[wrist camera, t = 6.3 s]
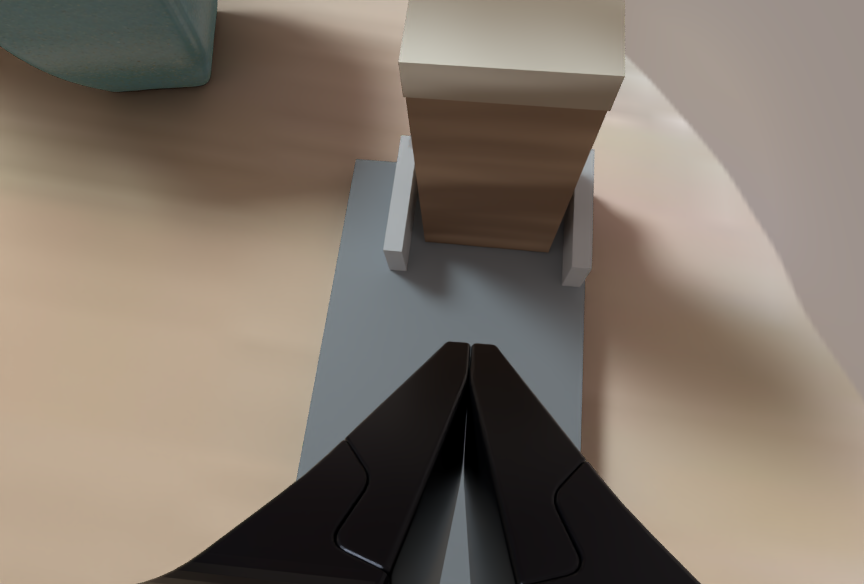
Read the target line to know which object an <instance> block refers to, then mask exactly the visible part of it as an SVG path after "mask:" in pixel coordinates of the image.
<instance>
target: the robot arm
mask: <svg viewBox="0 0 864 584" xmlns="http://www.w3.org/2000/svg"><path fill="white" fill-rule="evenodd" d="M470 352H471V355H470ZM466 414H467V415H466ZM465 429H466V431H465ZM464 444H465V448H464ZM463 459H464V469H463ZM462 469H463V474H464V494H465V509H466V524H467V539H468V554H469V569H470V584H701V583H700V582H699V581H698V580H697V579H696V578H695V577H694V576H693V575H692V574H691V573H690V572H689V571H688V570H687V569H686V568H685V567H684V566H683V565H682V564H681V563H680V562H679V561H678V560H677V559H676V558H675V557H674V556H673V555H672V554H671V553H670V552H669V551H668V550H667V549H666V548H665V547H664V546H663V545H662V544H661V543H660V542H659V541H658V540H657V539H656V538H655V537H654V536H653V535H652V534H651V533H650V532H649V531H648V530H647V529H646V528H645V527H644V526H643V525H642V523H641V522H640V521H639V520H638V519H637V518H636V517H635V516H634V515H633V514H632V513H631V512H630V511H629V510H628V509H627V508H626V507H625V505H624V504H623V503H622V502H621V501H620V500H619V499H618V497H617V496H616V495H615V494H614V493H613V491H612V490H611V489H610V488H609V487H608V486H607V484H606V483H605V482H604V481H603V480H602V478H601V477H600V476H599V475H598V473H597V472H596V471H595V470H594V468H593V467H592V466H591V465H590V463H589V462H586V459H585V457H584V456H583V455H582V454H581V452H580V451H579V450H578V448H577V447H576V446H575V445H574V443H573V442H572V441H571V440H570V438H569V437H568V436H567V435H566V433H565V432H564V431H563V430H562V428H561V427H560V426H559V424H558V423H557V422H556V421H555V419H554V418H553V417H552V416H551V414H550V413H549V412H548V411H547V409H546V408H545V407H544V406H543V404H542V403H541V402H540V401H539V399H538V398H537V397H536V395H535V394H534V393H533V392H532V390H531V389H530V388H529V387H528V385H527V384H526V383H525V382H524V380H523V379H522V378H521V377H520V375H519V374H518V373H517V371H516V370H515V369H514V368H513V366H512V365H511V364H510V363H509V361H508V360H507V359H506V358H505V356H504V355H503V354H502V353H501V351H500V350H499V349H498V347H497V346H495V345H493V344H479V343H475V344H473V345H472V346H470V344H469V343H465V342H451V341H449V342H446V343H445V344H444V345H443V346H442V347H441V348H440V349H439V350H437V351H436V352H435V353H434V354H433V355H432V356H431V357H430V358H429V359H428V360H427V361H426V362H425V363H424V364H423V365H422V366H421V367H419V368H418V369H417V370H416V371H415V372H414V373H413V374H412V375H411V376H410V377H409V378H408V379H407V380H406V381H405V382H404V383H403V384H401V385H400V386H399V387H398V388H397V389H396V390H395V391H394V392H393V393H392V394H391V395H390V396H389V397H388V398H387V399H386V400H385V401H384V402H382V403H381V404H380V405H379V406H378V407H377V408H376V409H375V410H374V411H373V412H372V413H371V414H370V415H369V416H368V417H367V418H366V419H364V420H363V421H362V422H361V423H360V424H359V425H358V426H357V427H356V428H355V429H354V430H353V431H352V432H351V433H350V434H349V435H348V436H347V437H346V438H345V440H342V441H341V442H340V443H339V444H338V445H337V446H336V447H335V448H334V449H332V450H331V451H330V452H329V453H328V454H327V455H326V456H325V457H324V458H323V459H321V460H320V461H319V462H318V463H317V464H316V465H315V466H314V467H312V468H311V469H310V470H309V471H308V472H307V473H306V474H304V475H303V476H302V477H301V478H299V479H298V480H297V481H296V482H294V483H293V484H292V485H290V486H289V487H288V488H287V489H285V490H284V491H283V492H282V493H280V494H279V495H278V496H276V497H275V498H274V499H272V500H271V501H270V502H268V503H267V504H266V505H264V506H263V507H262V508H260V509H259V510H258V511H256V512H255V513H254V514H252V515H251V516H250V517H248V518H247V519H246V520H244V521H243V522H242V523H240V524H239V525H238V526H236V527H235V528H234V529H232V530H231V531H230V532H228V533H227V534H226V535H224V536H223V537H222V538H220V539H219V540H218V541H216V542H215V543H214V544H212V545H211V546H210V547H208V548H207V549H206V550H204V551H203V552H201V553H200V554H199V555H197V556H196V557H194V558H193V559H191V560H190V561H188V562H187V563H185V564H183V565H182V566H180V567H178V568H176V569H175V570H173V571H171V572H169V573H167V574H164V575H162V576H160V577H157V578H154V579H152V580H149V581H146V582H142V583H138V584H440V579H441V574H442V570H443V565H444V560H445V555H446V550H447V545H448V540H449V536H450V531H451V526H452V521H453V516H454V511H455V506H456V501H457V497H458V492H459V487H460V481H461V476H462Z"/></svg>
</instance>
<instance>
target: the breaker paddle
mask: <svg viewBox="0 0 864 584" xmlns="http://www.w3.org/2000/svg"><path fill="white" fill-rule="evenodd" d="M398 63H399V70H400V77H401V84H402V91H403V97H406V103H407V110H408V118H409V125H410V133H411V140H412V148H413V155H414V163H415V170H416V178H417V185H418V193H419V200H420V208H421V215H422V223H423V230H424V237H425V242H434V243H446V244H457V245H468V246H480V247H491V248H502V249H513V250H525V251H536V252H547V253H548V252H549V250H550V247H551V245H552V243H553V240H554V238H555V235H556V233H557V230H558V228H559V226H560V223H561V221H562V218H563V216H564V214H565V211H566V209H567V206H568V204H569V202H570V199H571V197H572V194H573V192H574V190H575V187H576V185H577V182H578V180H579V178H580V175H581V173H582V170H583V168H584V166H585V163H586V161H587V158H588V156H589V154H590V151H591V149H592V146H593V144H594V142H595V139H596V137H597V134H598V132H599V130H600V127H601V125H602V122H603V120H604V117H605V115H606V113H607V111H610V110H611V108H612V105H613V103H614V100H615V98H616V96H617V93H618V91H619V89H620V86H621V84H622V82H623V79H624V77H625V0H409V2H408V8H407V14H406V20H405V26H404V32H403V38H402V43H401V49H400V55H399V61H398Z"/></svg>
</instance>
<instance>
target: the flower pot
mask: <svg viewBox="0 0 864 584" xmlns="http://www.w3.org/2000/svg"><path fill="white" fill-rule="evenodd" d="M216 15H217V0H0V46H1V47H2V48H4V49H5V50H6V51H8V52H10V53H11V54H13V55H14V56H16V57H18V58H19V59H21V60H23V61H25V62H26V63H28V64H30V65H32V66H34V67H36V68H38V69H40V70H42V71H44V72H46V73H49V74H51V75H53V76H56V77H58V78H61V79H64V80H67V81H70V82H73V83H76V84H80V85H84V86H88V87H92V88H97V89H102V90H107V91H111V92H122V91H135V90H146V89H158V88H176V87H193V86H201V85H204V84H206V83H207V82H208V81H209V79H210V76H211V66H212V55H213V44H214V33H215V24H216Z"/></svg>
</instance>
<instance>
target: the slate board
mask: <svg viewBox="0 0 864 584" xmlns="http://www.w3.org/2000/svg"><path fill="white" fill-rule="evenodd" d="M593 193H594V149H591V151H590V154H589V156H588V158H587V161H586V163H585V166H584V168H583V170H582V173H581V175H580V178H579V180H578V182H577V185H576V187H575V190H574V192H573V194H572V197H571V199H570V202H569V204H568V206H567V209H566V211H565V214H564V216H563V218H562V221H561V223H560V226H559V228H558V230H557V233H556V235H555V238H554V240H553V243H552V245H551V247H550V250H549V252H548V253H547V252H536V251H525V250H513V249H502V248H491V247H480V246H468V245H457V244H446V243H434V242H425V237H424V230H423V223H422V215H421V208H420V200H419V193H418V185H417V178H416V170H415V163H414V155H413V148H412V140H411V136H404V135H401V139H400V146H399V152H398V158H397V162H387V161H374V160H361V159H356V162H355V167H354V173H353V178H352V183H351V189H350V194H349V200H348V205H347V210H346V216H345V221H344V226H343V232H342V237H341V243H340V248H339V253H338V259H337V264H336V269H335V275H334V280H333V286H332V291H331V296H330V302H329V307H328V312H327V318H326V323H325V329H324V334H323V339H322V345H321V350H320V356H319V361H318V366H317V372H316V377H315V382H314V388H313V393H312V399H311V404H310V409H309V415H308V420H307V425H306V431H305V436H304V442H303V447H302V452H301V458H300V463H299V468H298V474H297V479H296V481H297V480H298V479H299V478H301V477H302V476H303V475H304V474H306V473H307V472H308V471H309V470H310V469H311V468H312V467H314V466H315V465H316V464H317V463H318V462H319V461H320V460H321V459H323V458H324V457H325V456H326V455H327V454H328V453H329V452H330V451H331V450H332V449H334V448H335V447H336V446H337V445H338V444H339V443H340V442H341V441H342V440H345V438H346V437H347V436H348V435H349V434H350V433H351V432H352V431H353V430H354V429H355V428H356V427H357V426H358V425H359V424H360V423H361V422H362V421H363V420H364V419H366V418H367V417H368V416H369V415H370V414H371V413H372V412H373V411H374V410H375V409H376V408H377V407H378V406H379V405H380V404H381V403H382V402H384V401H385V400H386V399H387V398H388V397H389V396H390V395H391V394H392V393H393V392H394V391H395V390H396V389H397V388H398V387H399V386H400V385H401V384H403V383H404V382H405V381H406V380H407V379H408V378H409V377H410V376H411V375H412V374H413V373H414V372H415V371H416V370H417V369H418V368H419V367H421V366H422V365H423V364H424V363H425V362H426V361H427V360H428V359H429V358H430V357H431V356H432V355H433V354H434V353H435V352H436V351H437V350H439V349H440V348H441V347H442V346H443V345H444V344H445V343H446V342H449V341H451V342H465V343H469V344H470V346H472V345H473V344H475V343H479V344H493V345H495V346H497V347H498V349H499V350H500V351H501V353H502V354H503V355H504V356H505V358H506V359H507V360H508V361H509V363H510V364H511V365H512V366H513V368H514V369H515V370H516V371H517V373H518V374H519V375H520V377H521V378H522V379H523V380H524V382H525V383H526V384H527V385H528V387H529V388H530V389H531V390H532V392H533V393H534V394H535V395H536V397H537V398H538V399H539V401H540V402H541V403H542V404H543V406H544V407H545V408H546V409H547V411H548V412H549V413H550V414H551V416H552V417H553V418H554V419H555V421H556V422H557V423H558V424H559V426H560V427H561V428H562V430H563V431H564V432H565V433H566V435H567V436H568V437H569V438H570V440H571V441H572V442H573V443H574V445H575V446H576V447H577V448H578V450H579V451H580V452H581V416H582V377H583V338H584V299H585V278H586V277H587V275H588V274H589V272H590V271H591V269H592V240H593ZM470 355H471V352H470ZM466 415H467V414H466ZM465 431H466V429H465ZM464 448H465V444H464ZM463 469H464V459H463ZM463 469H462V476H461V481H460V487H459V492H458V497H457V501H456V506H455V511H454V516H453V521H452V526H451V531H450V536H449V540H448V545H447V550H446V555H445V560H444V565H443V570H442V574H441V579H440V584H470V569H469V554H468V539H467V524H466V509H465V494H464V474H463Z"/></svg>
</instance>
